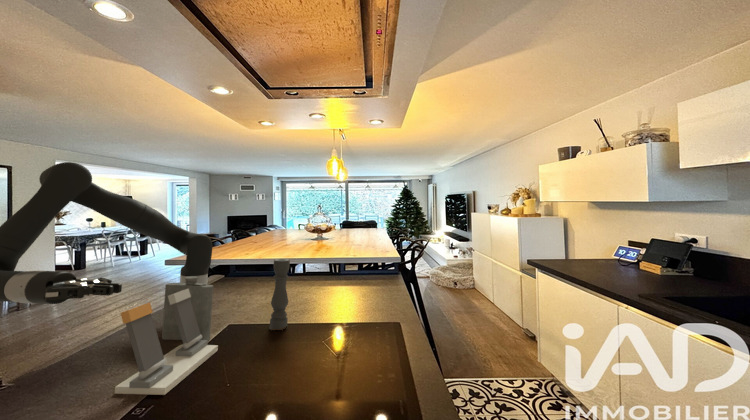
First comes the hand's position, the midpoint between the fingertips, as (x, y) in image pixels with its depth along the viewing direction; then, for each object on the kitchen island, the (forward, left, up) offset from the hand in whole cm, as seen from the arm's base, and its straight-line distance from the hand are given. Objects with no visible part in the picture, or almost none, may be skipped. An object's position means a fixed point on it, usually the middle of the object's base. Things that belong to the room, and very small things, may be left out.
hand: (116, 289), depth 67 cm
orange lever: (+9, +5, -18) cm, 21 cm away
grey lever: (+1, +18, -18) cm, 25 cm away
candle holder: (+5, +47, -22) cm, 52 cm away
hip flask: (-12, +24, -22) cm, 35 cm away
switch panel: (+5, +12, -22) cm, 25 cm away
